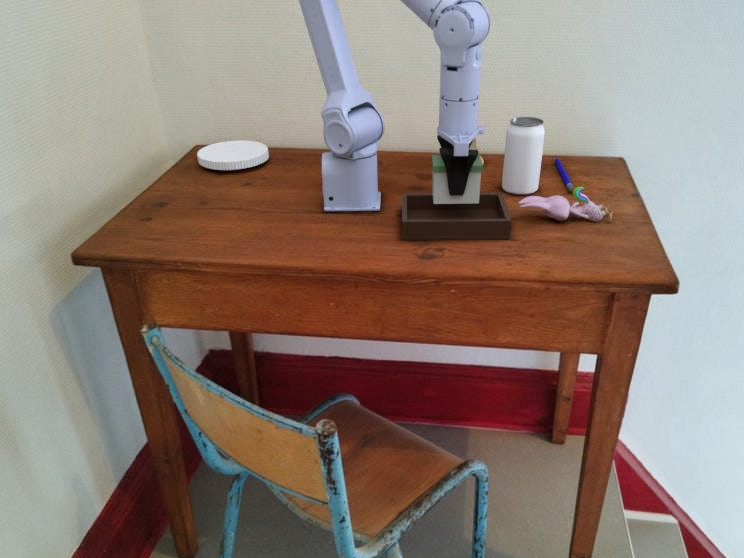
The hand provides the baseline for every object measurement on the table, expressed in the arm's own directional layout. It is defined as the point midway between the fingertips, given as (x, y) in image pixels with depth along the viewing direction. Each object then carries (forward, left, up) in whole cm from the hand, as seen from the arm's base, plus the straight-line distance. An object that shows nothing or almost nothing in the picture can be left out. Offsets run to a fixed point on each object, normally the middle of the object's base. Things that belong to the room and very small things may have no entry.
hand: (455, 188), depth 103 cm
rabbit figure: (+18, +2, -6) cm, 19 cm away
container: (0, 0, -2) cm, 2 cm away
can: (+13, +16, -6) cm, 21 cm away
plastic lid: (-42, +32, -6) cm, 53 cm away
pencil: (+22, +22, -6) cm, 31 cm away
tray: (0, 0, -6) cm, 6 cm away
